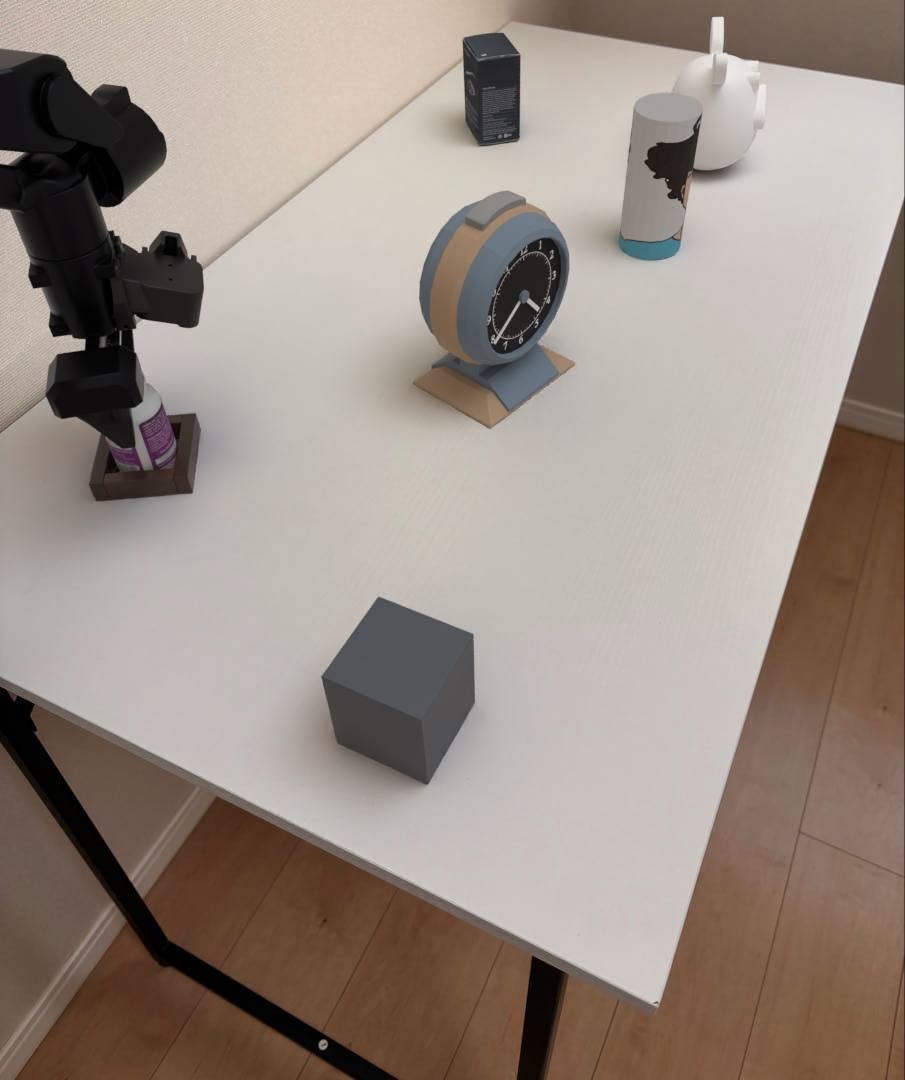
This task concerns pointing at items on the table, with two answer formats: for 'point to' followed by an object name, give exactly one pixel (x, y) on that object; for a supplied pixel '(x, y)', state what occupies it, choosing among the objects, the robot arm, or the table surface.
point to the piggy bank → (723, 102)
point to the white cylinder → (659, 174)
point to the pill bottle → (148, 437)
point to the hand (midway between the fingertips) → (129, 410)
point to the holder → (149, 481)
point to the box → (492, 88)
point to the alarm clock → (493, 305)
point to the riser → (401, 688)
